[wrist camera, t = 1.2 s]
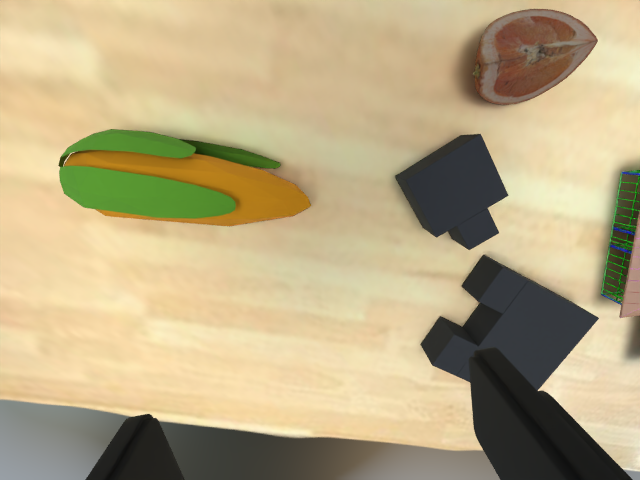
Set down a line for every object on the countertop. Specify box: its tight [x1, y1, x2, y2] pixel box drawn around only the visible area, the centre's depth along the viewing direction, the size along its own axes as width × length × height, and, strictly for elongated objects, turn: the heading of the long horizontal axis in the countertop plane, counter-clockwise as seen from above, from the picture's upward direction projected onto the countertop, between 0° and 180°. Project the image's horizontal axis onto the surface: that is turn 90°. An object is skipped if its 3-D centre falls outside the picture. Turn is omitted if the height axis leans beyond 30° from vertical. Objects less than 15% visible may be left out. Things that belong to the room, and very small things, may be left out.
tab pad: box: [395, 134, 508, 250], centre depth 29 cm, size 7×9×4 cm
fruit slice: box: [473, 9, 598, 105], centre depth 25 cm, size 8×7×5 cm
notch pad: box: [421, 255, 599, 391], centre depth 33 cm, size 12×12×4 cm
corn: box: [59, 129, 311, 226], centre depth 26 cm, size 7×8×20 cm
